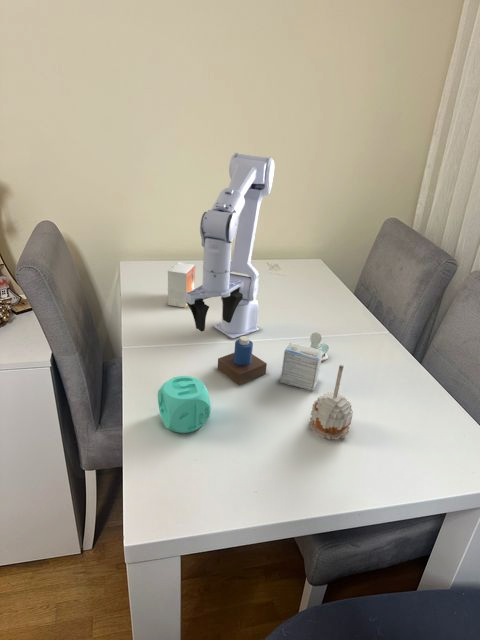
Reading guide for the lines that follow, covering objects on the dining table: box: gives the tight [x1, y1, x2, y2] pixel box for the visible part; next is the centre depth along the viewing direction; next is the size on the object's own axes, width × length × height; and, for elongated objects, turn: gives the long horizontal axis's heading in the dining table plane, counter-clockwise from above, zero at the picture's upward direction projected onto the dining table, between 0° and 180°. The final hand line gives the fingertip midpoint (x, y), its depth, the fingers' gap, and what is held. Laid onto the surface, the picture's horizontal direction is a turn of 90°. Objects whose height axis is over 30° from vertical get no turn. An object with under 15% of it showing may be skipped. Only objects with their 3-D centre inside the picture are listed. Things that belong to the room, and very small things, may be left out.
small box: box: [167, 261, 196, 308], centre depth 141 cm, size 8×6×10 cm
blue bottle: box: [233, 335, 254, 366], centre depth 111 cm, size 4×4×6 cm
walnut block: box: [216, 352, 268, 386], centre depth 113 cm, size 8×8×3 cm
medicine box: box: [280, 342, 323, 392], centre depth 110 cm, size 8×4×9 cm, turn 71°
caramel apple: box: [308, 364, 354, 440], centre depth 95 cm, size 8×8×15 cm
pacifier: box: [309, 331, 329, 362], centre depth 121 cm, size 7×6×6 cm
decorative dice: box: [157, 375, 212, 434], centre depth 94 cm, size 8×8×8 cm
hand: (213, 325), depth 110 cm, fingers open, 7 cm apart
